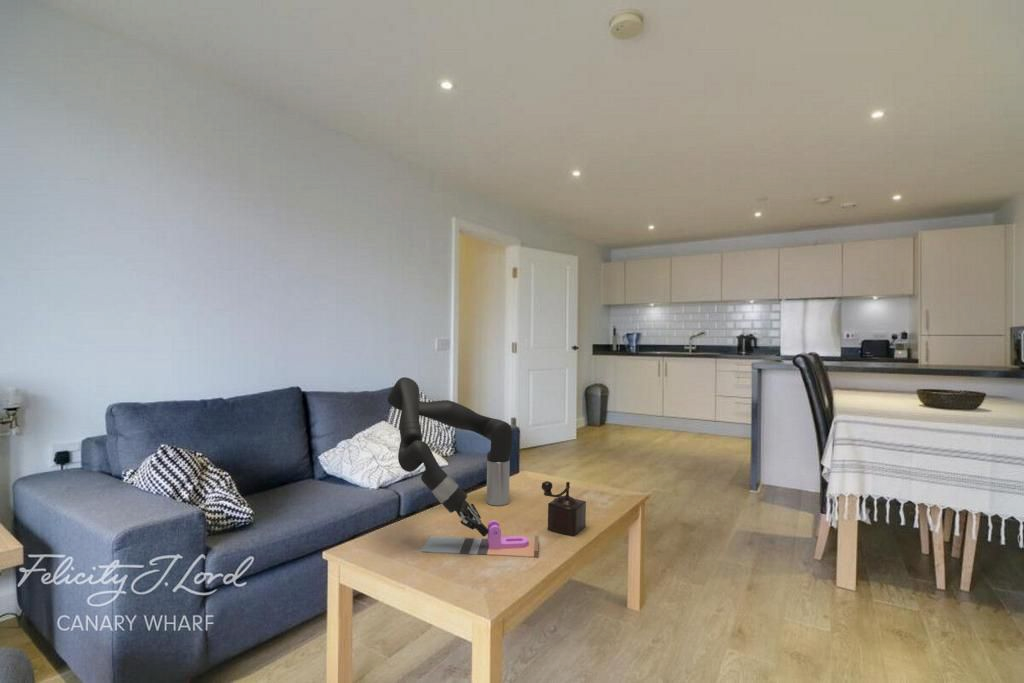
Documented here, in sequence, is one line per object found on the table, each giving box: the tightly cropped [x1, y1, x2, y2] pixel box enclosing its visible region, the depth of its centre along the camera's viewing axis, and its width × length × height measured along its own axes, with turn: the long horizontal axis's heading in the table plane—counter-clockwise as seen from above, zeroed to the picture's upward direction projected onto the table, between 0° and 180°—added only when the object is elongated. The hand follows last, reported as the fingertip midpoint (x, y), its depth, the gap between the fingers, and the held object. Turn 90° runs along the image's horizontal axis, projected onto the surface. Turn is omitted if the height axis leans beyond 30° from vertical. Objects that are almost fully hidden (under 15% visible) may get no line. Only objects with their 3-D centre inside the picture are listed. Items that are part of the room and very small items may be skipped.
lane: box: [420, 535, 540, 558], centre depth 152 cm, size 11×36×2 cm, turn 86°
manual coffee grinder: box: [541, 480, 587, 537], centre depth 165 cm, size 16×11×18 cm
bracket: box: [487, 519, 530, 549], centre depth 153 cm, size 13×6×7 cm, turn 98°
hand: (486, 533), depth 151 cm, fingers closed
